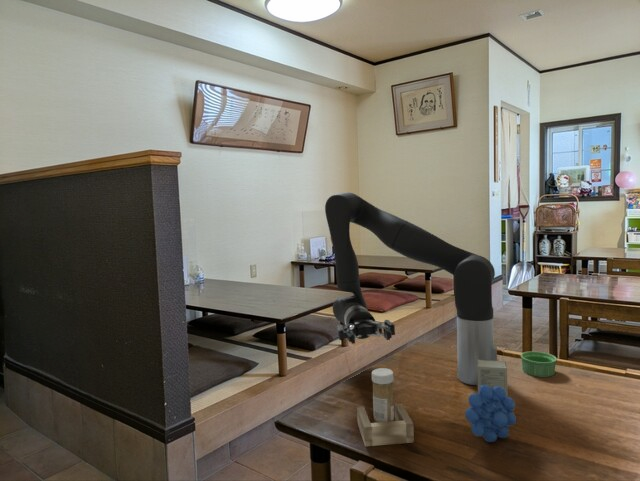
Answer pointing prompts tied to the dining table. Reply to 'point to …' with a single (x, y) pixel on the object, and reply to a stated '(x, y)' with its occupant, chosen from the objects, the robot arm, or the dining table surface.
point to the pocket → (386, 428)
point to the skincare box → (492, 374)
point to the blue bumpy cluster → (490, 413)
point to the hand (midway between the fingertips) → (371, 337)
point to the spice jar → (383, 395)
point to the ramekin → (538, 363)
